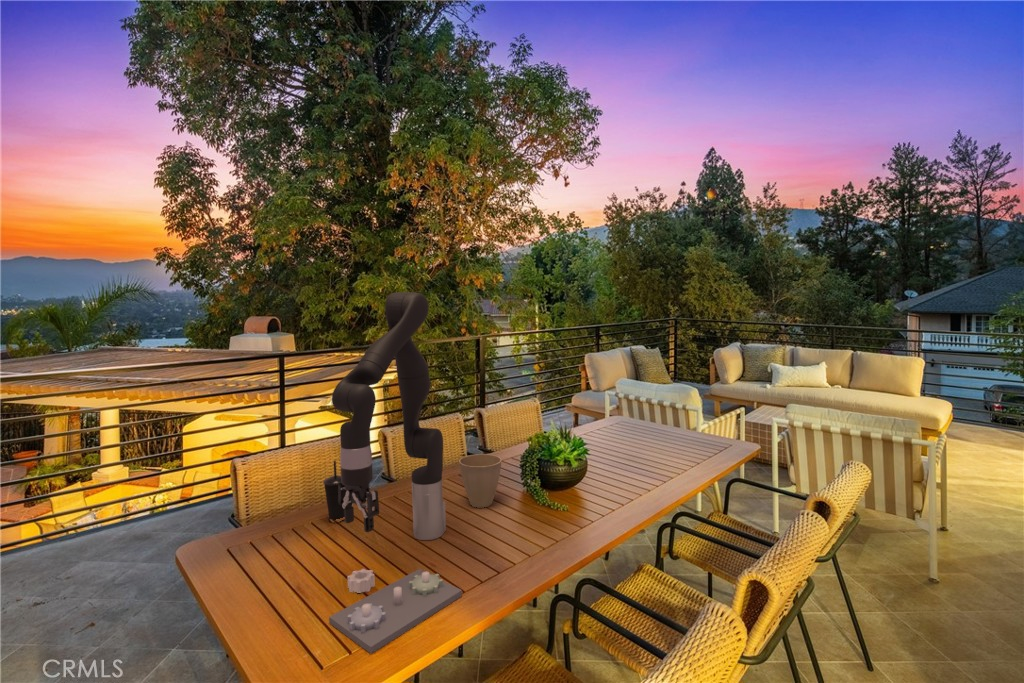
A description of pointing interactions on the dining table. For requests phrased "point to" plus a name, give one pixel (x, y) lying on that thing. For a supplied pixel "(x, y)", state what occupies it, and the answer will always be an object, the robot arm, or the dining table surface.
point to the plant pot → (480, 478)
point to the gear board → (394, 609)
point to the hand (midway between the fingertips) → (359, 526)
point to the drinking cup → (333, 496)
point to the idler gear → (361, 581)
